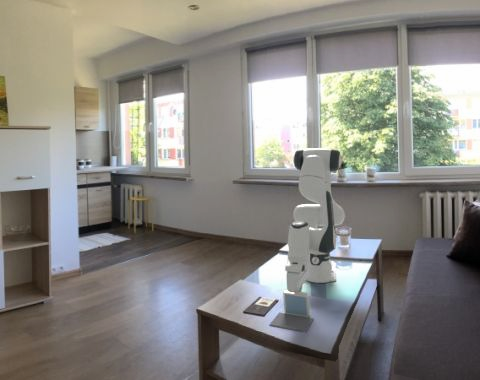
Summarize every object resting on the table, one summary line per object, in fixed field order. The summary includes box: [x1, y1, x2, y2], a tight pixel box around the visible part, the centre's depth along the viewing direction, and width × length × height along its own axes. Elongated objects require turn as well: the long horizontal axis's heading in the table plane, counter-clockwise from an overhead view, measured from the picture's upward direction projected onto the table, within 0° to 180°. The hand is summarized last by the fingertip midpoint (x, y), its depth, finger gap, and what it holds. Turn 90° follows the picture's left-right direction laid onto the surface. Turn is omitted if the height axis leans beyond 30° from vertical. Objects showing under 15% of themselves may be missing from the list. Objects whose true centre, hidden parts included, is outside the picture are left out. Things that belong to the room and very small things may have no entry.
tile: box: [282, 289, 311, 318], centre depth 152 cm, size 2×10×10 cm, turn 66°
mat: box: [269, 312, 314, 333], centre depth 146 cm, size 12×14×1 cm
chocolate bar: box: [242, 296, 279, 317], centre depth 162 cm, size 9×1×18 cm
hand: (298, 296), depth 154 cm, fingers closed
